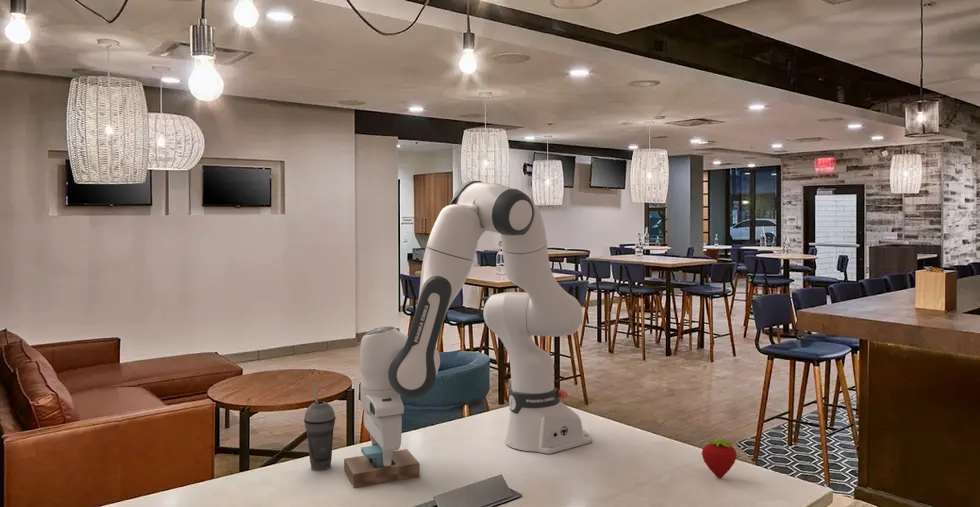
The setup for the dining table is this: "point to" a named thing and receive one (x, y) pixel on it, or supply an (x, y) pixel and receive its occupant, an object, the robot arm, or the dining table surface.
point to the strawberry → (719, 457)
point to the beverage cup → (320, 433)
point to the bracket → (373, 455)
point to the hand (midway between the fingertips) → (381, 457)
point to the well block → (381, 469)
